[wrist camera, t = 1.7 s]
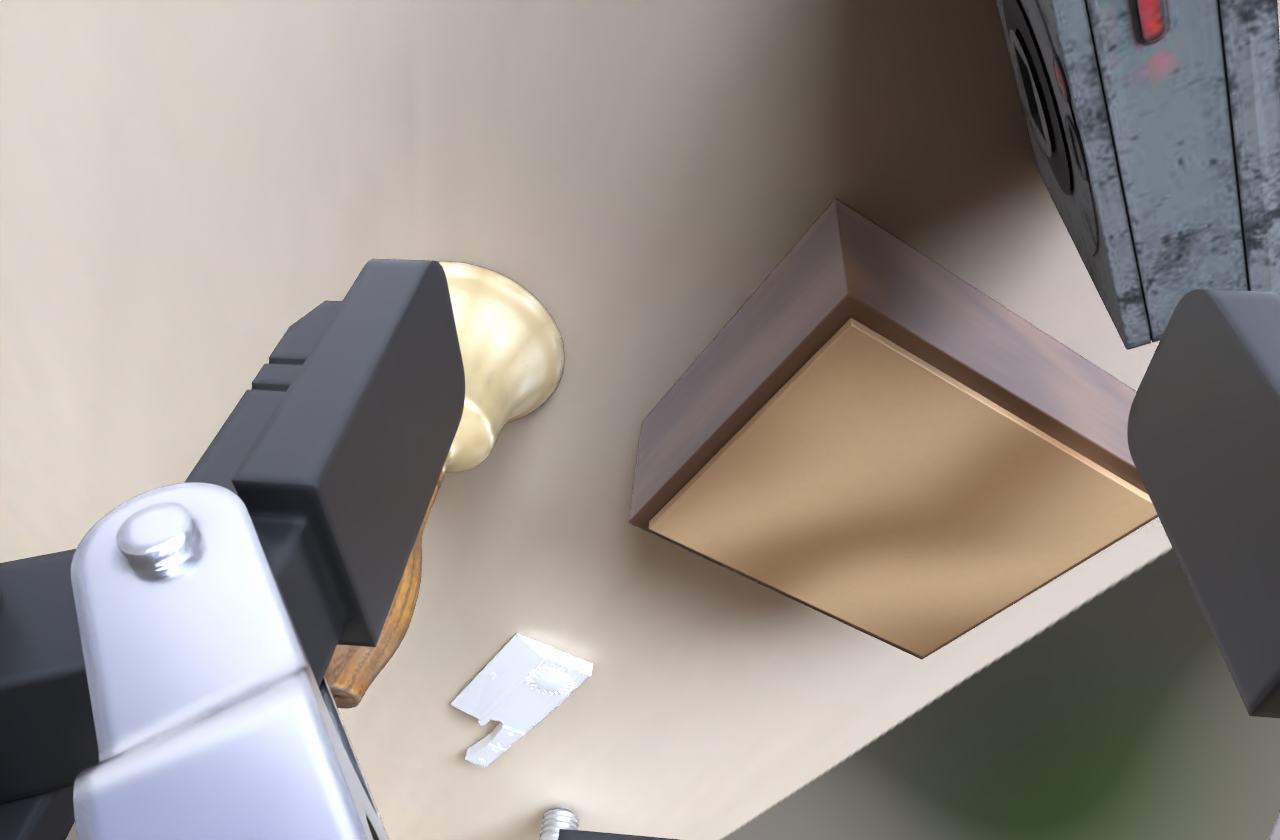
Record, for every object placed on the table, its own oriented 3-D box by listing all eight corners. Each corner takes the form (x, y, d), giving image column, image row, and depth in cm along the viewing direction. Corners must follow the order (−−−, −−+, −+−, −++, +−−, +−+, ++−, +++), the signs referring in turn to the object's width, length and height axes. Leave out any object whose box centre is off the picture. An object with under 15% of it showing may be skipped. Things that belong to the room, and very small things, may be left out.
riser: (641, 421, 38) (626, 531, 34) (835, 197, 30) (849, 301, 26) (905, 555, 43) (923, 668, 38) (1135, 390, 35) (1192, 508, 30)
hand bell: (605, 339, 36) (532, 697, 24) (498, 447, 40) (394, 789, 29) (425, 219, 33) (242, 562, 21) (333, 351, 37) (142, 689, 26)
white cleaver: (422, 731, 60) (417, 746, 59) (518, 630, 50) (514, 647, 50) (489, 756, 61) (486, 772, 60) (595, 663, 52) (592, 680, 51)
